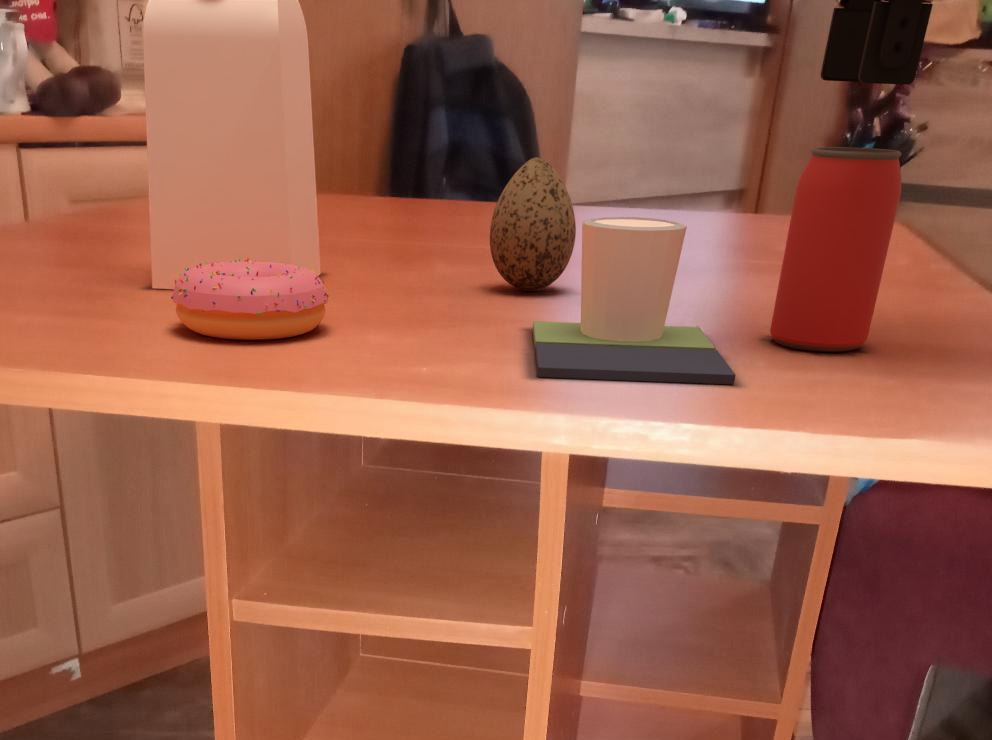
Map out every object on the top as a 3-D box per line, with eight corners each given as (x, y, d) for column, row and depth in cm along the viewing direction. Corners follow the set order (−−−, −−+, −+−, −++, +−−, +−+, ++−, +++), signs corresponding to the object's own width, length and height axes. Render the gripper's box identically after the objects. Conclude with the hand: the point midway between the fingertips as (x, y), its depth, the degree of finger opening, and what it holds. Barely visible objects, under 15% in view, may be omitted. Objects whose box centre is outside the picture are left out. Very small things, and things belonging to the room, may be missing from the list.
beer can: (826, 358, 77) (870, 154, 71) (748, 340, 82) (782, 147, 75) (884, 347, 81) (931, 151, 74) (806, 331, 85) (844, 145, 79)
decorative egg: (564, 299, 95) (576, 161, 89) (479, 294, 96) (486, 158, 91) (575, 286, 101) (587, 156, 95) (494, 281, 102) (502, 153, 97)
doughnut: (232, 309, 88) (229, 250, 86) (357, 325, 84) (357, 263, 82) (142, 333, 80) (136, 267, 78) (274, 351, 76) (272, 283, 73)
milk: (320, 273, 104) (316, -88, 90) (293, 294, 94) (283, -106, 80) (192, 268, 105) (167, -89, 91) (152, 288, 96) (118, -108, 82)
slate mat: (715, 359, 76) (717, 350, 76) (734, 384, 70) (735, 374, 70) (534, 352, 77) (535, 343, 77) (537, 377, 71) (538, 367, 71)
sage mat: (698, 335, 83) (700, 327, 83) (713, 356, 77) (715, 347, 77) (532, 329, 84) (533, 321, 83) (534, 350, 78) (535, 340, 77)
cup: (686, 332, 81) (702, 221, 77) (646, 348, 76) (662, 231, 72) (597, 320, 84) (609, 213, 80) (554, 334, 79) (564, 221, 75)
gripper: (1078, -324, 56) (970, 88, 65) (960, -245, 71) (885, 82, 80) (922, -328, 56) (836, 82, 66) (837, -249, 71) (776, 78, 80)
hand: (863, 82), depth 73 cm, fingers open, 9 cm apart
